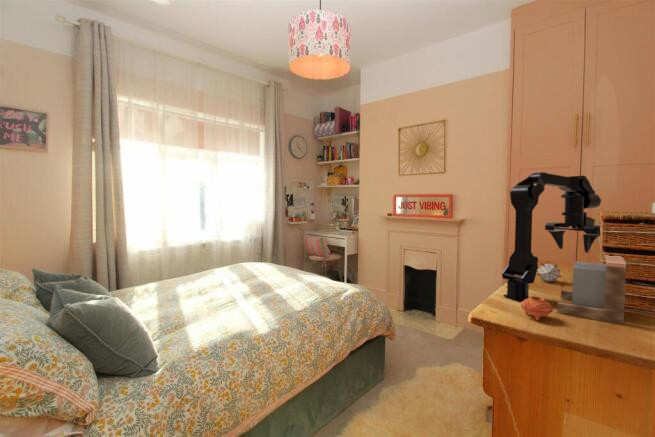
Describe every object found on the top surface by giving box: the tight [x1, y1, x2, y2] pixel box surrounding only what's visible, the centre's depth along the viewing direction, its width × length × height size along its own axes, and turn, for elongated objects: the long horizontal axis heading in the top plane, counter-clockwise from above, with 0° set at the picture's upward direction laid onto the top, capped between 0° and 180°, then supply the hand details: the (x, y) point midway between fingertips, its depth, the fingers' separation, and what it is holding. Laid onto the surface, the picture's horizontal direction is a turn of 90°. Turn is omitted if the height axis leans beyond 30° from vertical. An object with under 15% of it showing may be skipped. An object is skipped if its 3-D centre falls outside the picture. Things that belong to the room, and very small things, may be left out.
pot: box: [520, 295, 554, 321], centre depth 94 cm, size 8×8×7 cm
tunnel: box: [556, 254, 627, 325], centre depth 99 cm, size 15×18×17 cm
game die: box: [536, 261, 562, 284], centre depth 131 cm, size 9×8×10 cm
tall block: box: [571, 261, 606, 309], centre depth 99 cm, size 9×11×14 cm
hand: (573, 250), depth 120 cm, fingers open, 9 cm apart
